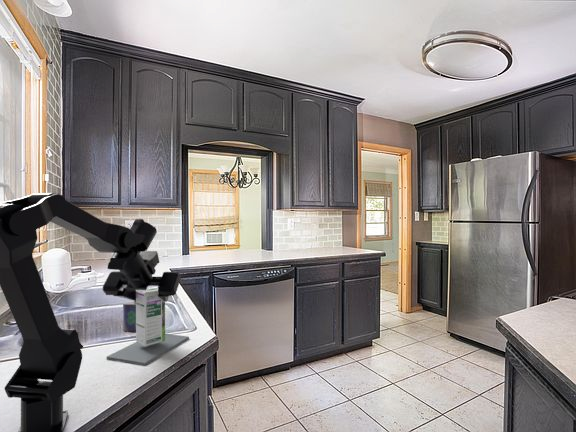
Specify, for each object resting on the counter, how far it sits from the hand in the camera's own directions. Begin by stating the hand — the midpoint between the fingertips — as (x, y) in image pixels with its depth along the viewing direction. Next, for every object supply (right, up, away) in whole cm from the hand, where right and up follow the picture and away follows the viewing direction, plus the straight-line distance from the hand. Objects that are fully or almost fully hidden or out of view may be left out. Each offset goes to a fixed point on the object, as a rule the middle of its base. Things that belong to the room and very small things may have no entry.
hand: (152, 300), depth 89 cm
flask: (-10, -13, +12) cm, 20 cm away
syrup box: (0, -11, -2) cm, 11 cm away
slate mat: (0, -13, -1) cm, 13 cm away
